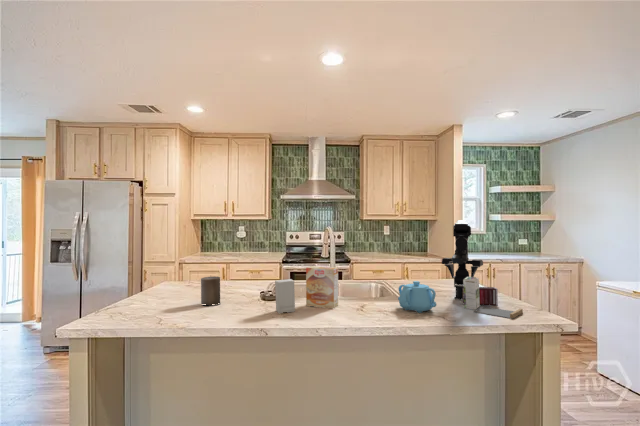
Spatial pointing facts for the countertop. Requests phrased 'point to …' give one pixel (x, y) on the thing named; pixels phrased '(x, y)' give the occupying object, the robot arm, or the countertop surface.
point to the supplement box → (487, 295)
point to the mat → (500, 312)
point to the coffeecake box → (322, 286)
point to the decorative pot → (416, 297)
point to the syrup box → (471, 293)
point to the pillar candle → (210, 290)
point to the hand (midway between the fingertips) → (462, 279)
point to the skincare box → (285, 295)
